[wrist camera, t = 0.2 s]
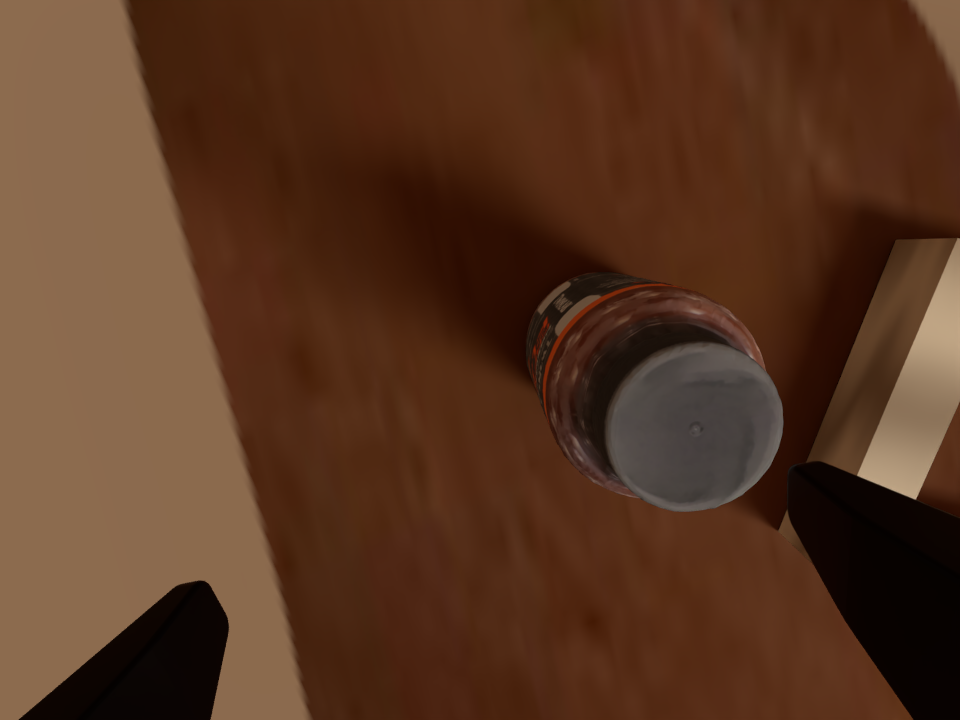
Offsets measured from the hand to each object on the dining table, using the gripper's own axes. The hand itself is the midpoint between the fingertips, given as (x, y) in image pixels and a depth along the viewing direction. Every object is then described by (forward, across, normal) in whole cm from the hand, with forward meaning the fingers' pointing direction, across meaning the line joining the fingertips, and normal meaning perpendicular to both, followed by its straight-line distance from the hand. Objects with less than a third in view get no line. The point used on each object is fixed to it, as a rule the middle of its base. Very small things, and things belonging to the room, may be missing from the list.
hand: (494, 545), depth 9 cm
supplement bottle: (+15, -4, +4) cm, 16 cm away
